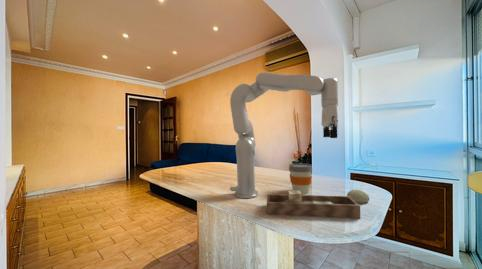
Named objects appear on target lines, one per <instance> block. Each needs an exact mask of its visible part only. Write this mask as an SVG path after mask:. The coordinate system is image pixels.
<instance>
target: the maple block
mask: <svg viewBox="0 0 482 269" xmlns="http://www.w3.org/2000/svg"><path fill="white" fill-rule="evenodd" d="M288 195H289V203H302V195H303V194H301V192H300V191H297V190H293V189H291V190H289V189H288Z"/></svg>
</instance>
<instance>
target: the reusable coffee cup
mask: <svg viewBox="0 0 482 269" xmlns="http://www.w3.org/2000/svg"><path fill="white" fill-rule="evenodd" d="M288 166H289V167H288V170H289V179H290V183H291V187H292V189H291V190H297V191H300V192H301V194H302V195H308V194H310V187H311V184H312V180H313V178H312V177H313V176H312V172H313V165H312V164H309V163H305V162H304V163H301V162H299V163H296V162H295V163H290V164H289V165H288Z"/></svg>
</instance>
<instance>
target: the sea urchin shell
mask: <svg viewBox="0 0 482 269" xmlns="http://www.w3.org/2000/svg"><path fill="white" fill-rule="evenodd" d="M346 196H350V197H351V198H352V199H353V200H354V201H355V202H356V203H358V204H363V203H368V202H369V201H370V196H369V194H367V193H366V192H365V191H363V190H360V189H351V190H349V191H348V192H347V194H346Z"/></svg>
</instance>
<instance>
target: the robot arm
mask: <svg viewBox="0 0 482 269" xmlns="http://www.w3.org/2000/svg"><path fill="white" fill-rule="evenodd" d="M269 90H270V91H278V92H284V93H285V92H289V91H305V93H306V94H307V95H309V96H317V95H321V99H320V101H321V108H322V109H321V110H322V111H321V126H322V127H323V128H322V130H323V131H322V132H323V138H330V139H338V126H339V125H338V123H339V122H338V121H339V119H338V117H339V116H338V106H339V100H338V96H339V95H338V93H339V92H338V90H339V89H338V79H337V78H334V77H328V78H323V79H322V78H321V77H320V76H317V75H310V74H280V73H273V72H266V71H265V72H259V73H258V74H257V75H256V77H255V82H253V83H251V85H249V84H247V83H241V84H239V85H237V86H236V87H235V88H234V89H233V90H232V92H231V95H230V99H229V100H230V101H229V102H230V103H229V104H230V110H231V111H230V112H231V118H232V125H233V130H234V133H236V135H237V137H238V140H237V142H236V144H235V155H236V171H237V172H236V174H237V177H236V178H237V182H236V183H237V185H236V186H230V187H229V190H230V191H231V192H234V196H235V197H237V198H239V199H252V198H255V197H257V196H258V195H259V192H258V190H256V182H255V181H256V180H255V179H256V178H255V177H256V175H255V174H256V172H255V154H254V150H255V149H256V139H255V133H254V127H253V124H252V122H251V121H250V120H249V116H248V110H247V106H246V105H247V103H251V102H253V101H255V100H256V99H258V98H259V97H261V96H262V95H264V94H265V93H266V92H268V91H269Z"/></svg>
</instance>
